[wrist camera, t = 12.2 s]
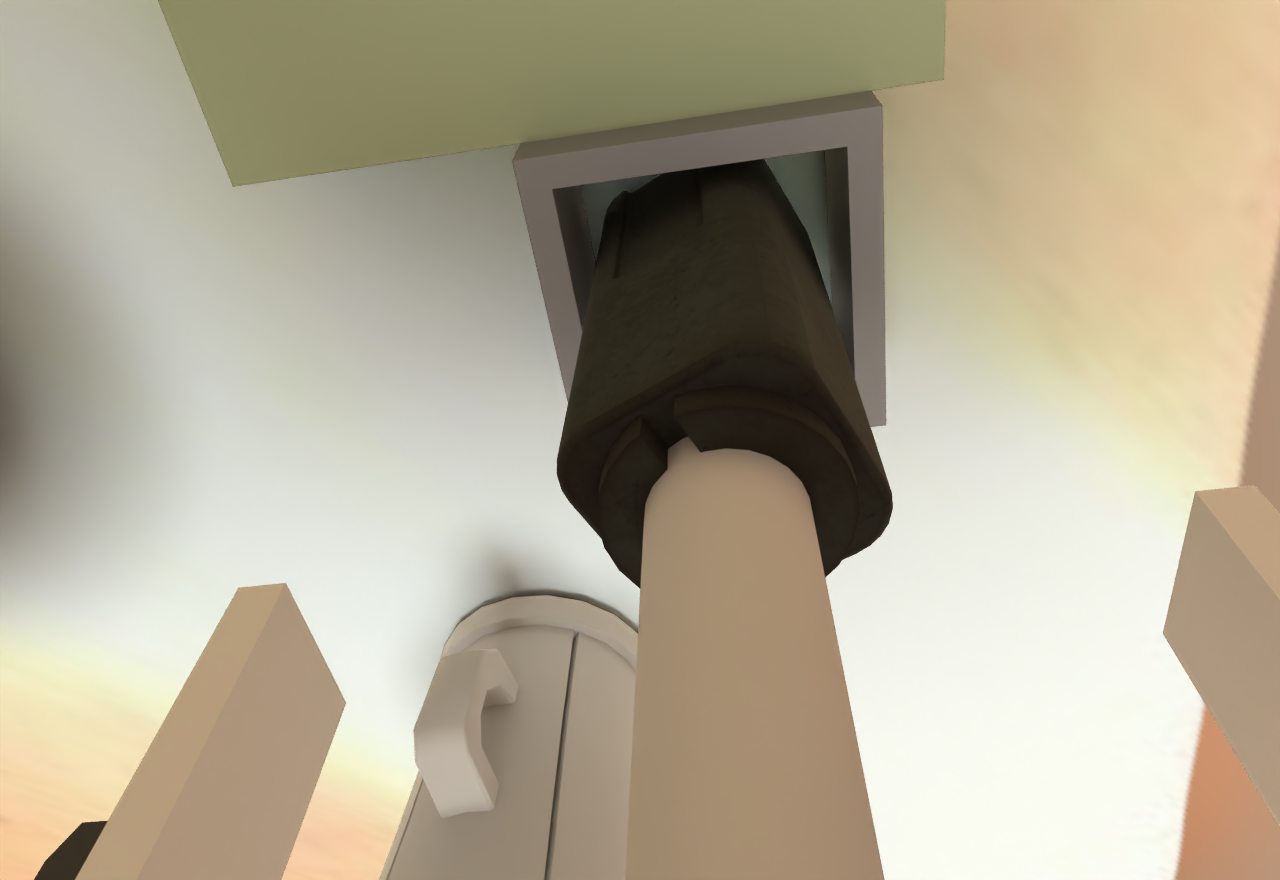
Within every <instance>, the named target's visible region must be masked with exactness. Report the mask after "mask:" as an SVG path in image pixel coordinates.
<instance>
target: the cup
mask: <svg viewBox="0 0 1280 880" xmlns="http://www.w3.org/2000/svg"><path fill="white" fill-rule="evenodd" d="M637 644H638V633H637V632H636V631H634V630H633V629H632V628H631V627H629V626H628V625H627V624H626V623H624V622H623V621H622V620H621V619H619V618H618V617H617V616H616V615H614V614H612V613H609V612H607V611H605V610H603V609H600V608H598V607H596V606H593V605H591V604H589V603H586V602H584V601H579V600H574V599H568V598H562V597H556V596H551V595H540V596H524V597H511V598H508V599H505V600H502V601H499V602H496V603H493V604H490V605H487V606H484V607H481V608H480V609H478V610H477V611H476V612H474V613H473V614H471V615H470V616H469V617H467V618H466V619H464V620H463V621H462V622H460V623H459V624H458V625H457V626H456V628H455V630H454V631H453V633H452V634H451V636H450V638H449V639H448V641H447V642H446V644H445V645H444V649H443V652H442V656H441V659H440V662H439V664H438V667H437V669H436V672H435V675H434V677H433V680H432V682H431V685H430V688H429V690H428V693H427V696H426V698H425V701H424V703H423V706H422V709H421V711H420V714H419V716H418V719H417V722H416V724H415V727H414V750H415V763H416V765H417V767H418V769H419V772H418V774H417V777H416V780H415V783H414V785H413V788H412V791H411V794H410V797H409V799H408V802H407V805H406V808H405V811H404V813H403V816H402V819H401V822H400V825H399V827H398V830H397V833H396V836H395V839H394V841H393V844H392V847H391V849H390V852H389V855H388V857H387V860H386V862H385V865H384V868H383V870H382V873H381V876H380V878H379V880H625V870H626V851H627V832H628V814H629V795H630V776H631V757H632V738H633V719H634V700H635V681H636V662H637Z"/></svg>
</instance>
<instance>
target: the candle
mask: <svg viewBox="0 0 1280 880" xmlns="http://www.w3.org/2000/svg"><path fill="white" fill-rule="evenodd" d="M557 476H558V480H559V483H560V486H561V489H562V491H563V493H564V494H565V496H566V497H567V499H568V500H569V502H570V503H571V504H572V505H573V506H574V508H575V509H576V510H577V511H578V512H579V513H580V514H581V516H582V517H583V518H584V519H585V520H586V521H587V523H588V524H589V525H590V526H591V527H592V528H593V529H594V531H595V532H596V533H597V534H598V535H599V536H600V537H601V539H602V541H603V545H604V548H605V549H606V551H607V552H608V554H609V555H610V557H611V558H612V560H613V561H614V563H615V565H616V566H617V568H618V569H619V571H621V572H622V573H623V574H624V575H625V576H626V577H627V578H629V579H630V580H631V581H632V582H633V583H634V584H635V585H637V586H638V587H639V588H640V606H639V625H638V644H637V662H636V681H635V700H634V719H633V738H632V757H631V776H630V795H629V814H628V832H627V851H626V870H625V880H884V875H883V870H882V865H881V860H880V855H879V850H878V844H877V839H876V834H875V829H874V824H873V819H872V814H871V809H870V804H869V799H868V793H867V788H866V783H865V778H864V773H863V768H862V763H861V758H860V753H859V748H858V742H857V737H856V732H855V727H854V722H853V717H852V712H851V707H850V702H849V697H848V691H847V686H846V681H845V676H844V671H843V666H842V661H841V656H840V651H839V646H838V640H837V635H836V630H835V625H834V620H833V615H832V610H831V605H830V600H829V595H828V589H827V584H826V579H825V577H826V576H827V575H829V574H830V573H831V572H832V571H833V570H834V569H835V568H836V567H837V566H838V565H839V564H840V562H841V560H843V559H845V558H847V557H850V556H852V555H854V554H856V553H858V552H860V551H862V550H863V549H865V548H867V547H868V546H870V545H871V544H872V543H873V542H874V541H875V540H877V539H878V538H879V537H880V536H881V535H882V533H883V531H884V530H885V528H886V527H887V525H888V523H889V520H890V517H891V513H892V509H893V503H892V492H891V489H890V486H889V483H888V480H887V477H886V474H885V471H884V468H883V464H882V461H881V458H880V455H879V452H878V449H877V446H876V443H875V440H874V437H873V434H872V430H871V427H870V424H869V421H868V418H867V415H866V412H865V409H864V406H863V403H862V399H861V396H860V393H859V390H858V387H857V384H856V381H855V378H854V375H853V372H852V369H851V365H850V362H849V359H848V356H847V353H846V350H845V347H844V344H843V341H842V338H841V334H840V331H839V328H838V325H837V322H836V319H835V316H834V313H833V310H832V307H831V304H830V300H829V297H828V294H827V291H826V288H825V285H824V282H823V279H822V276H821V273H820V269H819V266H818V263H817V260H816V257H815V254H814V251H813V248H812V245H811V242H810V239H809V236H808V234H807V232H806V230H805V228H804V226H803V225H802V223H801V221H800V220H799V218H798V216H797V214H796V213H795V211H794V209H793V208H792V206H791V204H790V203H789V201H788V199H787V197H786V196H785V194H784V192H783V191H782V189H781V187H780V186H779V184H778V182H777V181H776V179H775V177H774V175H773V174H772V172H771V170H770V169H769V167H768V165H767V164H766V162H765V160H764V159H758V160H751V161H744V162H737V163H730V164H723V165H716V166H709V167H702V168H695V169H688V170H681V171H674V172H668V173H663V174H662V175H660V176H659V177H657V178H656V179H654V180H653V181H651V182H650V183H648V184H646V185H645V186H643V187H642V188H640V189H639V190H637V191H636V192H634V193H632V194H631V193H628V192H627V191H624V192H622V193H621V194H620V195H619V196H618V197H616V198H615V199H614V200H613V202H612V203H611V205H610V206H609V208H608V210H607V213H606V216H605V220H604V225H603V230H602V235H601V240H600V245H599V250H598V256H597V261H596V266H595V271H594V276H593V281H592V286H591V291H590V296H589V301H588V306H587V311H586V316H585V321H584V326H583V331H582V336H581V341H580V346H579V351H578V356H577V362H576V367H575V372H574V377H573V382H572V387H571V392H570V397H569V402H568V407H567V412H566V417H565V422H564V427H563V432H562V437H561V442H560V447H559V452H558V457H557Z"/></svg>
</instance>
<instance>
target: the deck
mask: <svg viewBox="0 0 1280 880" xmlns="http://www.w3.org/2000/svg"><path fill="white" fill-rule="evenodd" d="M158 2H159V4H160V7H161V9H162V11H163V14H164V16H165V19H166V21H167V24H168V26H169V29H170V31H171V34H172V36H173V39H174V41H175V44H176V46H177V49H178V51H179V54H180V56H181V59H182V61H183V64H184V66H185V69H186V71H187V74H188V76H189V79H190V81H191V84H192V86H193V88H194V91H195V93H196V96H197V98H198V101H199V103H200V106H201V108H202V111H203V113H204V116H205V118H206V121H207V123H208V126H209V128H210V131H211V133H212V136H213V138H214V141H215V143H216V146H217V148H218V151H219V153H220V156H221V158H222V161H223V163H224V166H225V168H226V170H227V173H228V175H229V178H230V180H231V183H232V185H233V187H234V186H241V185H247V184H254V183H261V182H267V181H274V180H280V179H287V178H294V177H300V176H307V175H314V174H320V173H327V172H334V171H340V170H347V169H353V168H360V167H367V166H373V165H380V164H387V163H393V162H400V161H407V160H413V159H420V158H426V157H433V156H440V155H446V154H453V153H460V152H466V151H473V150H480V149H486V148H493V147H499V146H506V145H513V144H519V143H521V145H520V147H519V148H518V150H517V152H516V154H515V156H514V158H513V160H512V163H513V167H514V172H515V176H516V180H517V185H518V189H519V193H520V198H521V202H522V206H523V211H524V215H525V219H526V223H527V228H528V232H529V236H530V241H531V245H532V249H533V254H534V258H535V262H536V267H537V271H538V275H539V280H540V284H541V288H542V293H543V297H544V301H545V306H546V310H547V314H548V319H549V323H550V327H551V332H552V336H553V340H554V345H555V349H556V353H557V358H558V362H559V366H560V370H561V375H562V379H563V383H564V388H565V392H566V396H567V401H568V402H569V397H570V392H571V387H572V382H573V377H574V372H575V367H576V362H577V356H578V351H579V346H580V341H581V336H582V331H583V326H584V321H585V316H586V311H587V306H588V301H589V296H590V291H591V286H592V281H593V276H594V271H595V266H596V265H595V260H594V255H593V250H592V245H591V240H590V234H589V229H588V224H587V219H586V214H585V209H584V204H583V198H582V193H581V188H580V185H584V184H591V183H598V182H605V181H612V180H619V179H626V178H633V177H640V176H647V175H654V174H661V173H668V172H674V171H681V170H688V169H695V168H702V167H709V166H716V165H723V164H730V163H737V162H744V161H751V160H758V159H765V158H772V157H778V156H785V155H792V154H799V153H806V152H813V151H820V150H825V169H826V190H827V212H828V234H829V256H830V277H831V299H832V310H833V313H834V316H835V319H836V322H837V325H838V328H839V331H840V334H841V338H842V341H843V344H844V347H845V350H846V353H847V356H848V359H849V362H850V365H851V369H852V372H853V375H854V378H855V381H856V384H857V387H858V390H859V393H860V396H861V399H862V403H863V406H864V409H865V412H866V415H867V418H868V421H869V424H870V427H874V426H883V425H886V376H885V292H884V208H883V123H882V105H881V103H880V102H879V101H878V100H877V98H876V97H875V96H874V94H873V93H872V92H871V90H878V89H884V88H891V87H898V86H904V85H911V84H918V83H924V82H931V81H937V80H944V41H945V0H158Z"/></svg>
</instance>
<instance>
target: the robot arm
mask: <svg viewBox="0 0 1280 880" xmlns="http://www.w3.org/2000/svg"><path fill="white" fill-rule="evenodd" d="M1163 634H1164V636H1165V638H1166V639H1167V641H1168V643H1169V644H1170V646H1171V648H1172V649H1173V651H1174V653H1175V654H1176V656H1177V658H1178V659H1179V661H1180V663H1181V664H1182V666H1183V668H1184V669H1185V671H1186V673H1187V674H1188V676H1189V678H1190V679H1191V681H1192V683H1193V684H1194V686H1195V688H1196V689H1197V691H1198V693H1199V694H1200V696H1201V698H1202V699H1203V701H1204V703H1205V704H1206V706H1207V708H1208V709H1209V711H1210V712H1211V714H1212V716H1213V717H1214V719H1215V721H1216V723H1217V724H1218V726H1219V728H1220V729H1221V731H1222V733H1223V734H1224V736H1225V737H1226V739H1227V741H1228V742H1229V744H1230V746H1231V747H1232V749H1233V751H1234V752H1235V754H1236V756H1237V757H1238V759H1239V761H1240V762H1241V764H1242V766H1243V767H1244V769H1245V771H1246V772H1247V774H1248V776H1249V777H1250V779H1251V781H1252V782H1253V784H1254V786H1255V787H1256V789H1257V791H1258V792H1259V794H1260V796H1261V797H1262V799H1263V801H1264V802H1265V804H1266V806H1267V807H1268V809H1269V811H1270V812H1271V814H1272V816H1273V817H1274V819H1275V821H1276V822H1277V824H1278V826H1279V827H1280V514H1279V513H1278V511H1277V510H1276V509H1275V508H1274V507H1273V506H1272V504H1271V503H1270V502H1269V501H1268V500H1267V499H1266V497H1265V496H1264V495H1263V494H1262V493H1261V492H1260V491H1259V489H1258V488H1257V487H1256V486H1255V485H1253V486H1243V487H1234V488H1224V489H1214V490H1204V491H1195V495H1194V499H1193V504H1192V508H1191V512H1190V517H1189V521H1188V525H1187V530H1186V534H1185V539H1184V543H1183V547H1182V552H1181V556H1180V560H1179V565H1178V569H1177V574H1176V578H1175V582H1174V587H1173V591H1172V595H1171V600H1170V604H1169V609H1168V613H1167V617H1166V622H1165V626H1164V630H1163ZM345 704H346V702H345V700H344V698H343V696H342V694H341V692H340V690H339V688H338V686H337V684H336V682H335V680H334V678H333V676H332V674H331V672H330V670H329V668H328V666H327V664H326V662H325V660H324V658H323V656H322V654H321V652H320V650H319V648H318V646H317V644H316V642H315V640H314V638H313V636H312V634H311V632H310V630H309V628H308V626H307V624H306V622H305V620H304V618H303V616H302V614H301V612H300V610H299V608H298V606H297V604H296V602H295V600H294V598H293V596H292V594H291V592H290V590H289V588H288V586H287V584H286V583H282V584H272V585H262V586H252V587H242V588H238V590H237V592H236V593H235V595H234V597H233V599H232V601H231V602H230V604H229V606H228V608H227V609H226V611H225V613H224V615H223V617H222V618H221V620H220V622H219V624H218V625H217V627H216V629H215V631H214V633H213V634H212V636H211V638H210V640H209V642H208V643H207V645H206V647H205V649H204V650H203V652H202V654H201V656H200V658H199V659H198V661H197V663H196V665H195V667H194V668H193V670H192V672H191V674H190V675H189V677H188V679H187V681H186V683H185V684H184V686H183V688H182V690H181V692H180V693H179V695H178V697H177V699H176V700H175V702H174V704H173V706H172V708H171V709H170V711H169V713H168V715H167V716H166V718H165V720H164V722H163V724H162V725H161V727H160V729H159V731H158V733H157V734H156V736H155V738H154V740H153V741H152V743H151V745H150V747H149V749H148V750H147V752H146V754H145V756H144V758H143V759H142V761H141V763H140V765H139V766H138V768H137V770H136V772H135V774H134V775H133V777H132V779H131V781H130V782H129V784H128V786H127V788H126V790H125V791H124V793H123V795H122V797H121V799H120V800H119V802H118V804H117V806H116V807H115V809H114V811H113V813H112V815H111V816H110V818H109V820H108V821H99V822H85V823H82V824H81V825H80V826H79V827H78V828H77V829H76V830H75V831H74V832H73V833H72V834H71V835H70V836H69V837H68V838H67V839H66V840H65V841H64V842H63V843H62V844H61V845H60V846H59V847H58V848H57V849H56V851H55V852H54V853H53V854H52V855H51V856H50V857H49V858H48V859H47V860H46V861H45V862H44V864H43V866H42V867H41V869H40V871H39V872H38V874H37V876H36V877H35V879H34V880H281V879H282V876H283V873H284V871H285V868H286V865H287V863H288V860H289V857H290V854H291V852H292V849H293V846H294V843H295V841H296V838H297V835H298V833H299V830H300V827H301V824H302V822H303V819H304V816H305V813H306V811H307V808H308V805H309V803H310V800H311V797H312V794H313V792H314V789H315V786H316V783H317V781H318V778H319V775H320V773H321V770H322V767H323V764H324V762H325V759H326V756H327V753H328V751H329V748H330V745H331V743H332V740H333V737H334V734H335V732H336V729H337V726H338V723H339V721H340V718H341V715H342V713H343V710H344V707H345Z"/></svg>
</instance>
